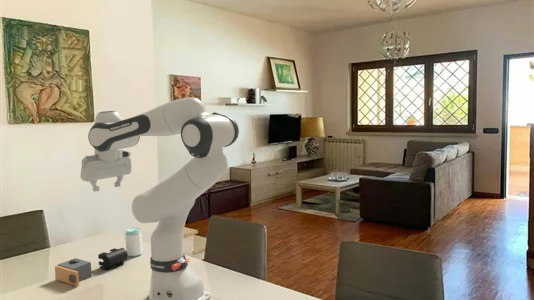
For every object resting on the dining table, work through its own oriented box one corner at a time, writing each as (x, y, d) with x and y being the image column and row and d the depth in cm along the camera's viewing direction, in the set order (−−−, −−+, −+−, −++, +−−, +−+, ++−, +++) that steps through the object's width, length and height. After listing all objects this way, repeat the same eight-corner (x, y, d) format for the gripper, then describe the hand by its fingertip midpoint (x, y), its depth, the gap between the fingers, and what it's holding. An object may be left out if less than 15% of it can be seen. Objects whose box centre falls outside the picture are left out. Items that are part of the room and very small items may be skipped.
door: (79, 285, 150) (78, 271, 150) (75, 287, 149) (74, 273, 148) (57, 278, 158) (56, 265, 157) (53, 280, 156) (52, 266, 156)
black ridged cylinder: (109, 271, 165) (108, 255, 164) (98, 268, 168) (97, 253, 167) (128, 263, 173) (127, 248, 173) (116, 261, 177) (116, 246, 176)
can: (145, 252, 187) (143, 227, 186) (138, 257, 180) (136, 231, 179) (131, 251, 188) (129, 227, 187) (123, 257, 181) (122, 231, 180)
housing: (91, 276, 159) (90, 260, 159) (73, 283, 153) (72, 267, 152) (76, 272, 165) (75, 256, 164) (58, 279, 158) (57, 263, 157)
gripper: (87, 157, 139) (87, 195, 141) (134, 151, 157) (133, 185, 159) (76, 155, 142) (76, 192, 145) (123, 149, 160) (123, 183, 162)
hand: (107, 188), depth 152 cm, fingers open, 8 cm apart
